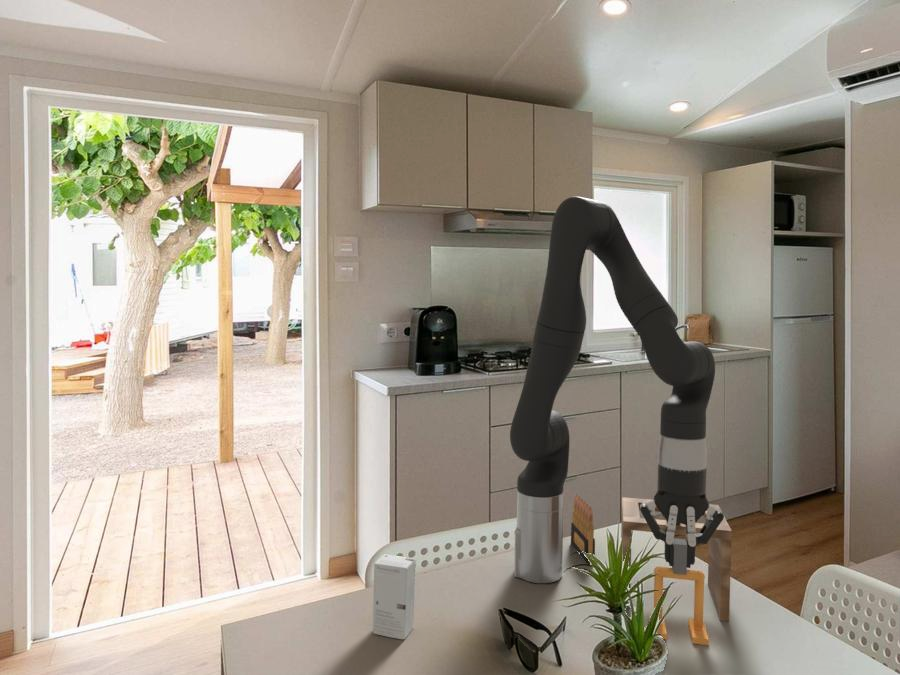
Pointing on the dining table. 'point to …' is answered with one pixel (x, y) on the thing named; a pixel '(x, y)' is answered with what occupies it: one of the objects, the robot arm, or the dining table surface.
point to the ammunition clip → (582, 528)
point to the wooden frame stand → (717, 543)
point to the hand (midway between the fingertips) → (679, 564)
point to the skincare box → (394, 596)
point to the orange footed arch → (681, 572)
